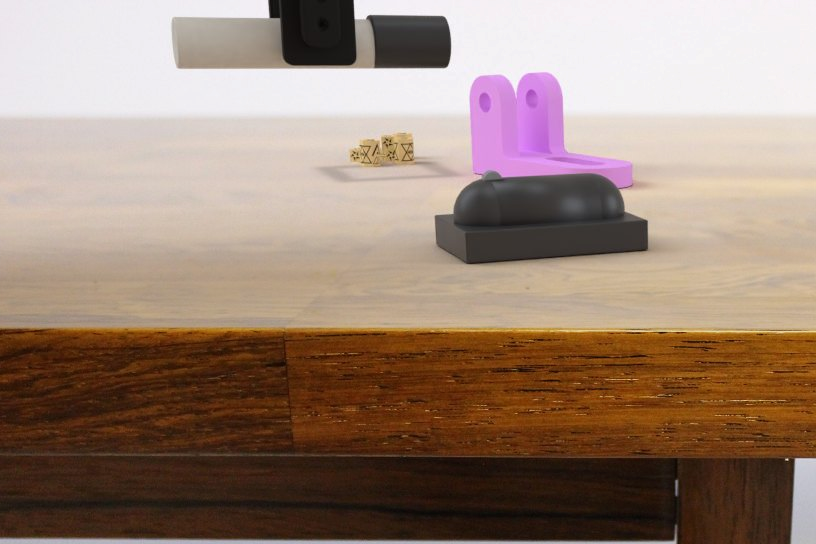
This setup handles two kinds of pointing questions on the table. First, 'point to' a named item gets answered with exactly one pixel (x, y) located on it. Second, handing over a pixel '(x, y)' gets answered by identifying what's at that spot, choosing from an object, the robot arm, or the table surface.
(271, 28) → the pen
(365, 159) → the dice set
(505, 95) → the bracket
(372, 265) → the table surface
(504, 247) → the mouse
